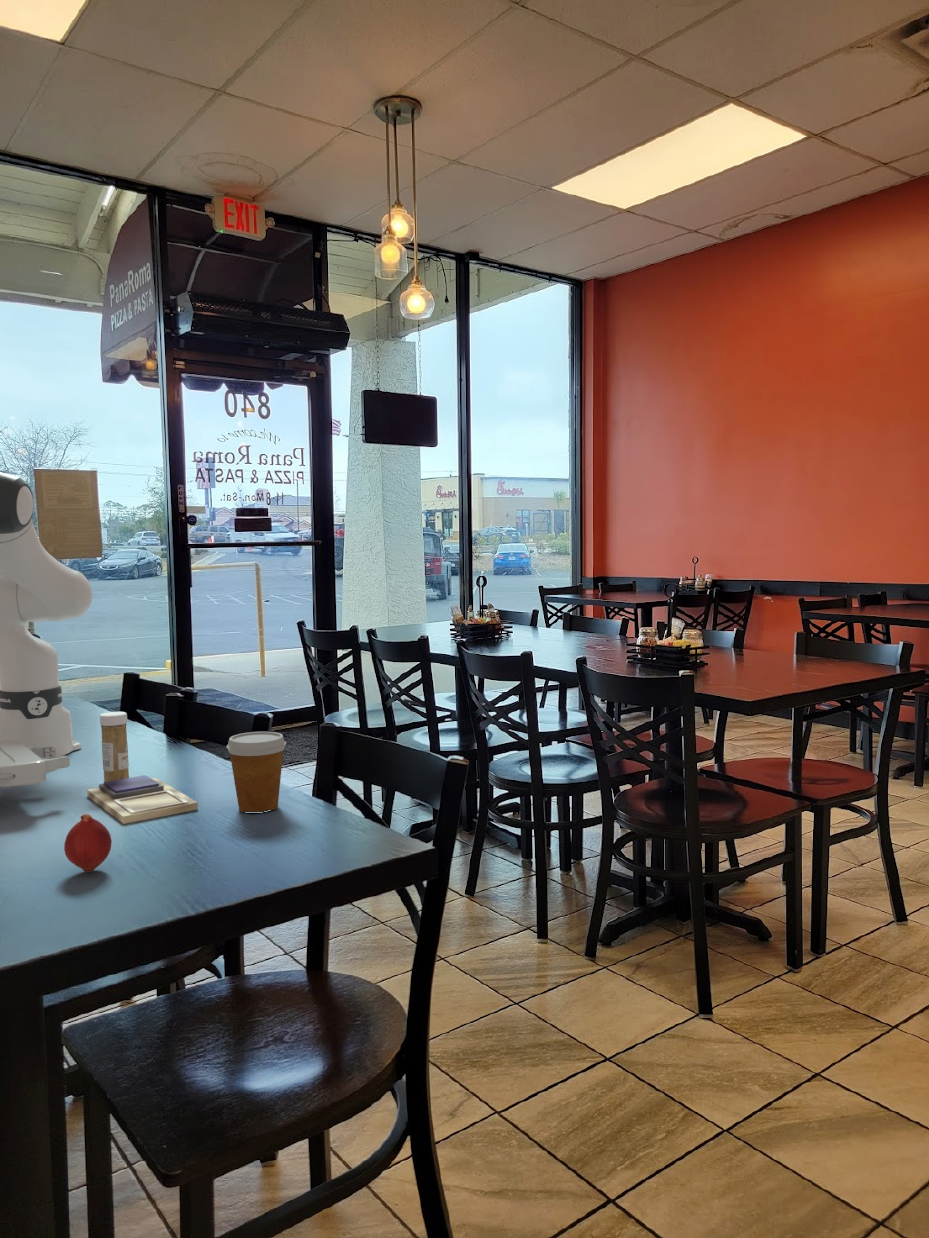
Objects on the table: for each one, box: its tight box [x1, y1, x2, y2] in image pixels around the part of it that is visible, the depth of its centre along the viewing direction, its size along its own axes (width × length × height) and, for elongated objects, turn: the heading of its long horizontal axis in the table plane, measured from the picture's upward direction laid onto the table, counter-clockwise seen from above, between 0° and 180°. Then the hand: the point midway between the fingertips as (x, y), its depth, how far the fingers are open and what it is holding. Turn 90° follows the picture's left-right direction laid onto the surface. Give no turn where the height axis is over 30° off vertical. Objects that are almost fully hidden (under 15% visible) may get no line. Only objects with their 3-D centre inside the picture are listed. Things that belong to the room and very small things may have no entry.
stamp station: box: [86, 774, 199, 825], centre depth 152 cm, size 20×12×2 cm, turn 38°
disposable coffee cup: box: [226, 731, 287, 813], centre depth 147 cm, size 10×10×12 cm
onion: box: [63, 813, 113, 873], centre depth 120 cm, size 6×6×8 cm
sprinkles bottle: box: [99, 711, 130, 783], centre depth 162 cm, size 5×5×14 cm
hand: (61, 755), depth 157 cm, fingers open, 8 cm apart
